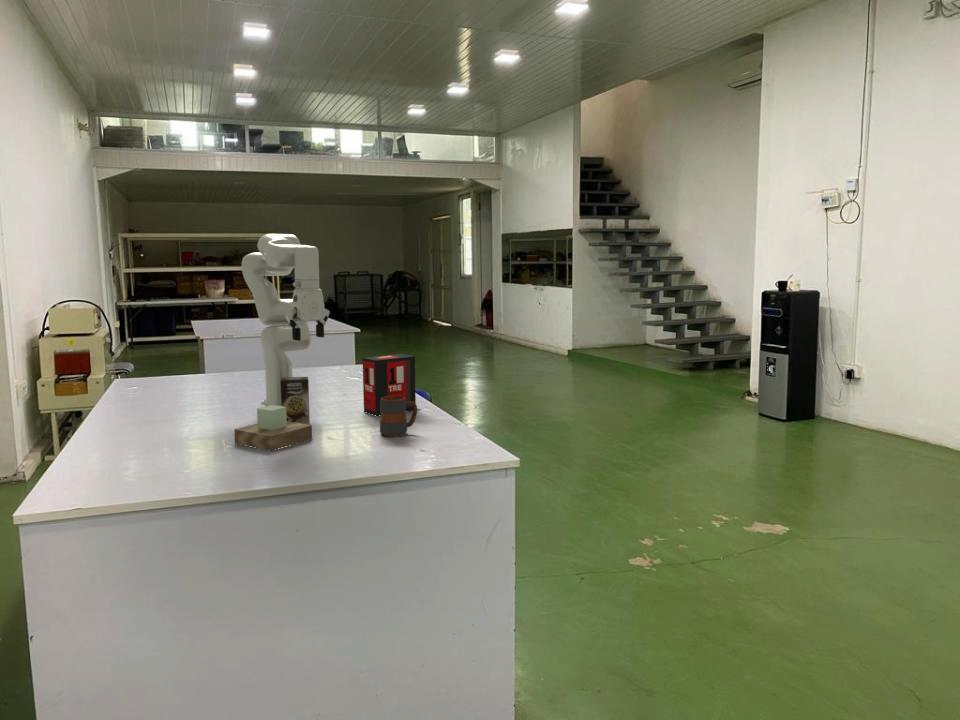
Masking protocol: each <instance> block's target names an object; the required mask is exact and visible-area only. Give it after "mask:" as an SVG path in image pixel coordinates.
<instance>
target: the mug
mask: <svg viewBox="0 0 960 720" xmlns="http://www.w3.org/2000/svg"><path fill="white" fill-rule="evenodd" d="M416 403H417V402H416ZM416 403H414V402H406V400H405V397H403V396H385V397H382V398H381V399H380V412H381V416H380V420H379V433H380V434H381V436H383V435H384V436H383V437H386V436H399V437H402V436H401V435H403V436H405V435H406V434H407V432H408V428H411V426H413V425H414V423H415V422H416V419H417V416H418V405H417V404H416ZM406 406H413V411H411V412H412V413H411V416H410V420H409V421H407V420H408V419H406V412H405V411H406ZM404 434H405V435H404Z"/></svg>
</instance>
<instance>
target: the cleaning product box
mask: <svg viewBox="0 0 960 720" xmlns="http://www.w3.org/2000/svg"><path fill="white" fill-rule="evenodd" d="M362 378H363V379H362V384H363V385H362V387H363V390H362V391H363V393H362V394H363V413H364V412H367V413H370V414H373V415H376V416H378V417H380V416H379V415H381V412H380V399H381V398H382V397H385V396H403V397H405V400H406V402H414V403H417V400H416V397H417V395H416V356H415V355H410V354H404V353H396V354H386V355H385V354H384V355H378V356H377V355H376V356H368V357H367V356H366V357H362ZM411 410H413V406H406V411H408V412H412V411H411ZM367 413H366V414H367ZM370 414H369V415H370ZM373 415H372V416H373ZM376 416H375V417H376Z"/></svg>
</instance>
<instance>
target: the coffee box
mask: <svg viewBox="0 0 960 720" xmlns="http://www.w3.org/2000/svg"><path fill="white" fill-rule="evenodd" d="M280 384H281V406H283V407H286V416H287V421H290V422H296V423H302V424H307V425H311V423H310V422H311V421H310V393H309V392H310V390H309V389H310V386H309V377H308V376H293V377H286V378H280Z"/></svg>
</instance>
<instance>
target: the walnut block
mask: <svg viewBox="0 0 960 720" xmlns="http://www.w3.org/2000/svg"><path fill="white" fill-rule="evenodd" d="M312 426H313V425H312V424H310V425H307V424H302V423H296V422H290V421H287V426H286V427H282V428H278V429H274V430H267V429H262V428H258V423H253V424H251V425H249V424H248V425H246V426H242V427H238V428H234V429H233V430H234V444H235V443H237V444H236V445H238V444H241V445H240V446H243V445H247V446H246V447H248V446H252V447H256V448H255V449H257V448H260V449H259V450H262V449H265V450H264V451H266V450H270V451H269V452H273V451H272V450H275V449H278V448H281V447H285V446H289V445H292V446H294V445H293V444H295V445H297V444H296V443H299V444H301V443H300V442H302V443H305V442H304V441H306V442H308V440H309V441H312V440H313V427H312ZM311 439H312V440H311ZM252 447H251V448H252ZM289 447H290V446H289ZM285 448H286V447H285ZM278 450H279V449H278ZM275 451H276V450H275Z"/></svg>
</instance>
